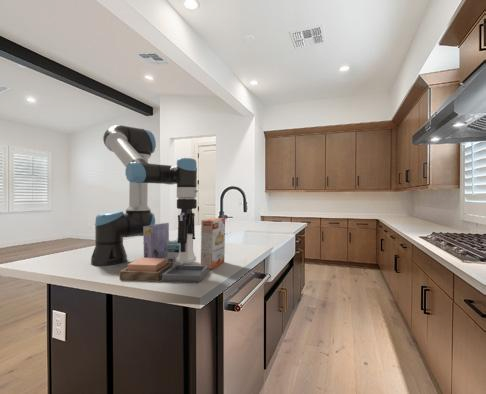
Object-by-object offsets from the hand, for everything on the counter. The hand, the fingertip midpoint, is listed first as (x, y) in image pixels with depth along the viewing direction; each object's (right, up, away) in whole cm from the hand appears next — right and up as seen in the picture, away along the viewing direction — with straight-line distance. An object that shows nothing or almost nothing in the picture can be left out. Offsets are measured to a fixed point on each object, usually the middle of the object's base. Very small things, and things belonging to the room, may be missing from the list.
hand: (186, 257), depth 104 cm
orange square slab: (-16, -4, +3) cm, 17 cm away
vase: (0, -1, 0) cm, 1 cm away
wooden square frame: (-16, -7, +3) cm, 18 cm away
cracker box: (+9, -7, +16) cm, 20 cm away
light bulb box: (-8, -7, +21) cm, 24 cm away
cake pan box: (-19, -7, +24) cm, 32 cm away
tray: (0, -7, 0) cm, 7 cm away
